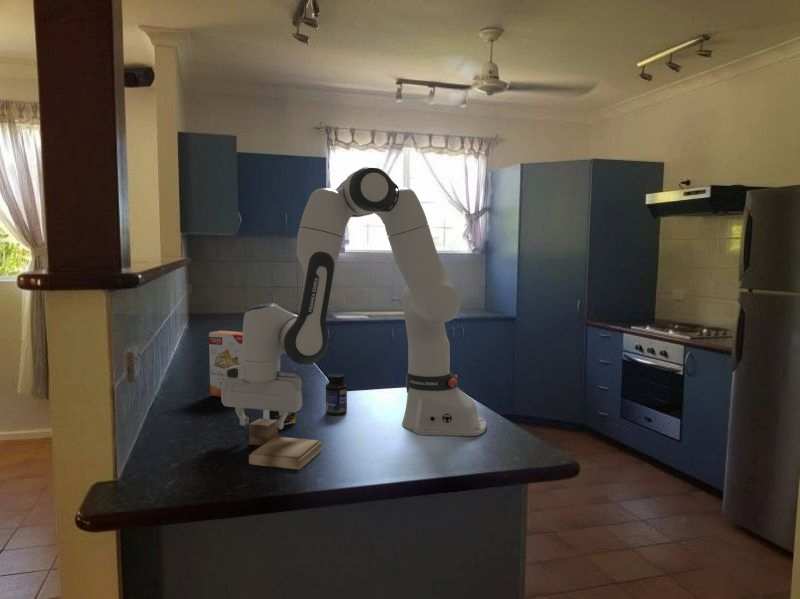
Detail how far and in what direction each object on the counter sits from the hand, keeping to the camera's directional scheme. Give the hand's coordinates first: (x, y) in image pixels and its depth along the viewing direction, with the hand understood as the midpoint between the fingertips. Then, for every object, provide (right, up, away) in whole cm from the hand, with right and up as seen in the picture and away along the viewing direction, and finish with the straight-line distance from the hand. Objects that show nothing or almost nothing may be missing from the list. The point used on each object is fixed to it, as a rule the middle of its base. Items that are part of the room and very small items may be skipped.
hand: (261, 426), depth 134 cm
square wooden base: (+8, -5, -10) cm, 14 cm away
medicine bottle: (+1, -3, +17) cm, 17 cm away
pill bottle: (+15, -2, +25) cm, 30 cm away
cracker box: (-20, -1, +44) cm, 48 cm away
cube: (0, -4, 0) cm, 4 cm away
